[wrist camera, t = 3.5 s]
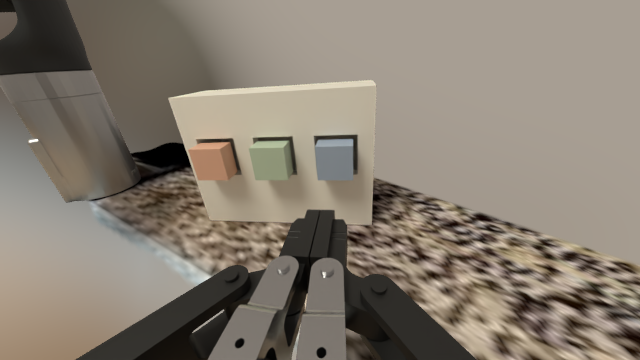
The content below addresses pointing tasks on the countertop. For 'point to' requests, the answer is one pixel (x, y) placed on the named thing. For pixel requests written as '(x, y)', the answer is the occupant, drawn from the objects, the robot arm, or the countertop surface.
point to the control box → (303, 134)
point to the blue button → (334, 159)
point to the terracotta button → (213, 161)
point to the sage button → (271, 160)
